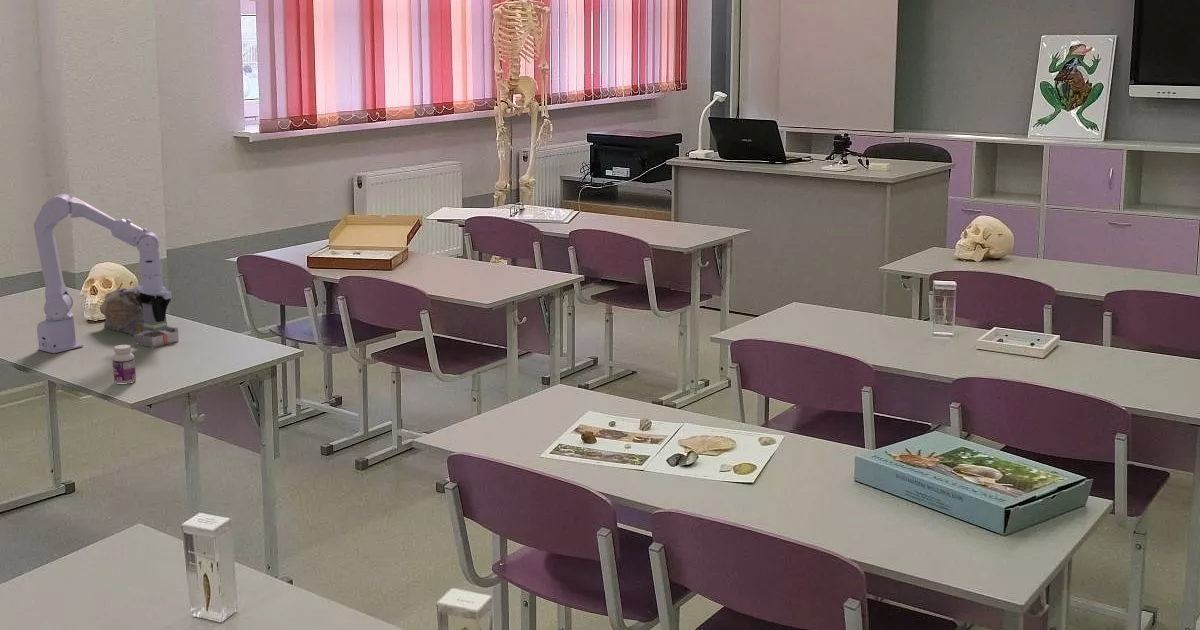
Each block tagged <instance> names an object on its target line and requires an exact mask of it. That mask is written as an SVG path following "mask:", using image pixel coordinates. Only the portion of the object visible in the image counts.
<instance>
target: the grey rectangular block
mask: <svg viewBox="0 0 1200 630" xmlns="http://www.w3.org/2000/svg"><path fill="white" fill-rule="evenodd" d="M142 306H143V317H144V328H145V330H148V331H153V332H156V331H160V330H164V329H167V326H168V322H167V313H166V314H165V319H164V321H161V322H157V320H156V316H155V310H154V307H153V305H152V303H151V301H148V302H143V303H142Z"/></svg>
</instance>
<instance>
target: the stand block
mask: <svg viewBox="0 0 1200 630" xmlns="http://www.w3.org/2000/svg"><path fill="white" fill-rule="evenodd" d="M179 340H180V338H179V327H175V326H170V325H167V329H164V330H160V331H156V332H153V331H148V330H147V331H143V332H139V333H135V334H134V344H135V343H138V344H137V345H139V344H142V345H141V346H143V345H146V346H145V347H147V346H150V347H149V348H152V347H154V348H157V346H158V347H161V346H165V345H169V344H173V343H177V342H179ZM160 345H161V346H160Z"/></svg>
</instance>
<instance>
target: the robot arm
mask: <svg viewBox="0 0 1200 630" xmlns="http://www.w3.org/2000/svg"><path fill="white" fill-rule="evenodd" d="M69 215H70V218H71V219H73V218H74V219H75V218H84V219H86V220H89V221H91V222H93V223H95V224H97V225H99V226H102V227H104V228H105V229H108V230H109V231H110V232H111V235H112V237H114V238H116V239H118V240H120V241H122V242H124V243H126V244H127V245H130V246H132V247H136V249H137V250H138V253H139V269H140V281H141V282H140V283H141V284H140V285H136V286H134V287H133V289H134V293H140V295H139V296H136V299H137V301H138V302H139V304H140V305H141V307H142V310H143V306H142V303H143V302H148V301H151V303H152V305H153V307H154V310H155V316H156V320H157V322H161V321H164V319H165V314H166V315H167V309H168V306H169V304H170V302H171V301H172V299H173V293H172V292H173V291H170V290H167V287H166V286H163V285H164V284H163V271H162V262H161V257H160V256H161V254H160V253H161V252H160V249H159V247H160V244H161V241H160V237H159V236H158V234H156V233H155V232H154V231H152V230H148V228H146V227H144V228H142V227H140V226H138V225H136V224H134V223H133V222H132V220H131V219H130V218H127V219H126V218H119V219H115V218H114V217H112V216H110V215H108V214H107V213H104V212H103V211H101V210H100V209H98V208H96V207H94V206H93V205H90V204H89V203H87V202H86V201H83V200H81V199H79V198H78V197H75V196H73V197H72V195H70V194H68V193H66V192H59V193H56V194H54V195H53V196H52V197H51V198H49V199H48V200H47V201H46V202H45V203H44V204H43V205H41V208H40V211H39V212H38V215H37V216H36V218H35V220H34V223H33V228H34V229H33V230H34V236H35V239H36V245H37V250H38V256H39V260H40V266H41V270H42V275H43V276H42V277H43V282H44V287H45V288H44V289H45V290H44V296H45V297H44V298H45V302H44V304H43V305H44V306H43V311H44V314H45V315H46V316H45V320H43V321H40V322H39V323H37V327H36V331H37V332H36V333H37V342H38V347H37V350H38V351H41V352H42V351H43V352H46V353H49V354H50V353H51V354H57V353H61V352H62V353H63V352H65V351H70V350H73V349H78V348H83V346H84V344H83V343H77V335H76V330H75V329H76V325H75V318H74V314H73V312H72V311H71V309H72V308H73V304H74V301H73V297H72V296H71V295H70V293H69V292H68V289H67V286H66V284H65V281H64V276H63V271H62V266H61V261H60V255H59V249H58V245H57V239H56V234H55V230H54V229H55V227H57V225H58V223H59V222H60V221H62V220H64V219H65V218H67V217H68V216H69ZM155 297H156V298H155Z"/></svg>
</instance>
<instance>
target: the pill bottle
mask: <svg viewBox="0 0 1200 630" xmlns="http://www.w3.org/2000/svg"><path fill="white" fill-rule="evenodd" d="M131 347H132V346H131V345H130V344H119V345H115V346H114V348H113V350H114V351H113V352H114V354H113V355H112V357H111V360H112V361H111V362H112V371H113V380H114V384H116V383H131V382H134V381H135V382H136V381H137V374H136V373H137V372H136V362H135V355H134V354H133V353H132V348H131ZM135 382H134V383H135Z"/></svg>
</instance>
